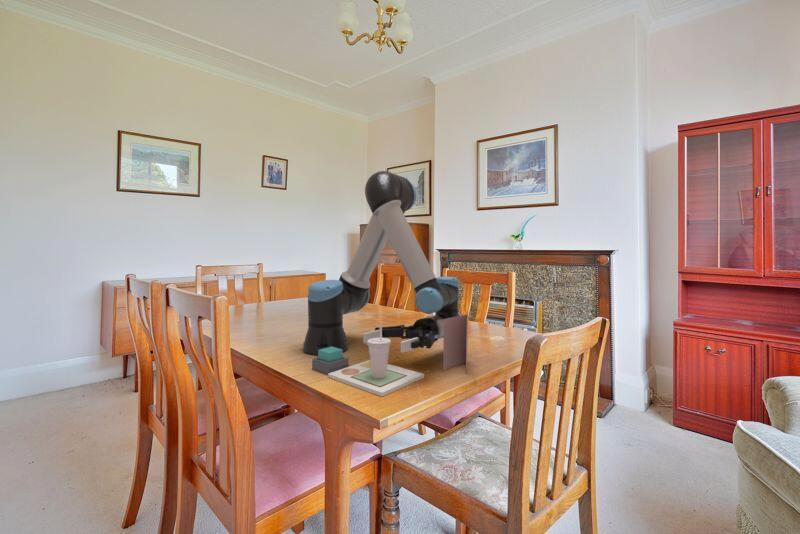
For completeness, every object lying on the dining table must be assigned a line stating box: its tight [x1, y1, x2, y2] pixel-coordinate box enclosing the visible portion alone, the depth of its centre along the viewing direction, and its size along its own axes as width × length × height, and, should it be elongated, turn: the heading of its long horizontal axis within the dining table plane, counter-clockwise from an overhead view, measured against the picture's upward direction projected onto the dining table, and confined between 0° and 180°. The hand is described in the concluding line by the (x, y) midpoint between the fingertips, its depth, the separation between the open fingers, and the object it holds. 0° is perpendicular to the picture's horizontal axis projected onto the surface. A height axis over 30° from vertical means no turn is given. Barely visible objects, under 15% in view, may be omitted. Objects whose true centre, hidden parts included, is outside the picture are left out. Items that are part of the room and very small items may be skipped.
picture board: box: [327, 359, 425, 398], centre depth 102 cm, size 20×17×1 cm
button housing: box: [311, 356, 350, 375], centre depth 109 cm, size 7×7×3 cm
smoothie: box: [366, 323, 392, 379], centre depth 100 cm, size 6×6×14 cm
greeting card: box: [442, 313, 469, 371], centre depth 110 cm, size 11×7×15 cm, turn 133°
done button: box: [317, 346, 344, 363], centre depth 109 cm, size 5×5×3 cm
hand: (382, 342), depth 100 cm, fingers open, 13 cm apart
